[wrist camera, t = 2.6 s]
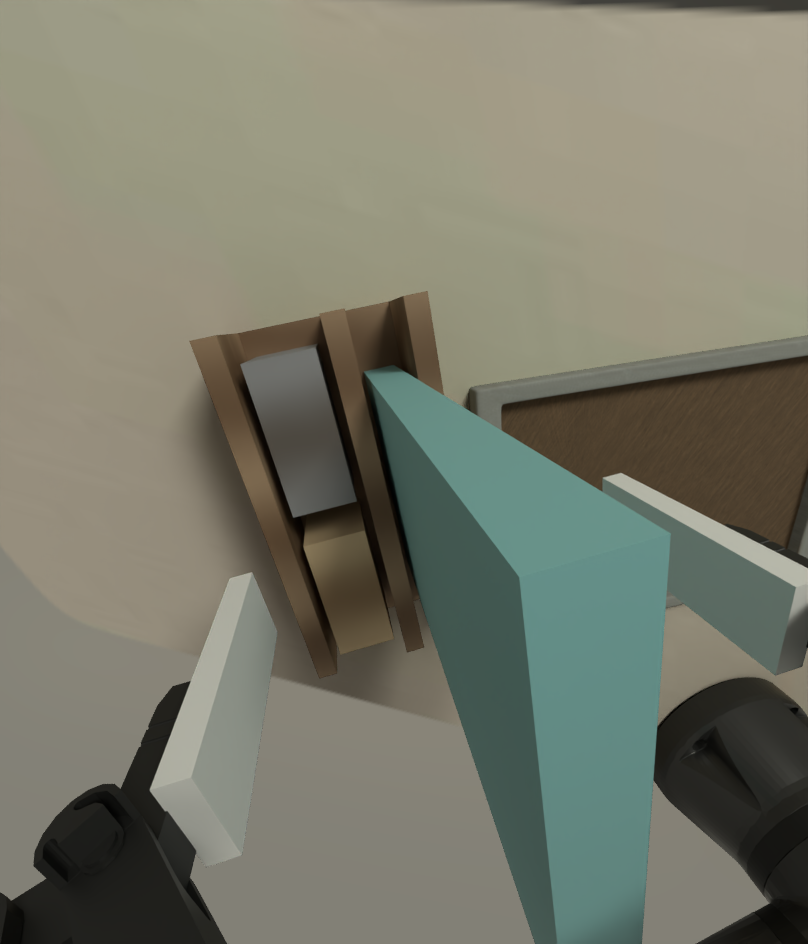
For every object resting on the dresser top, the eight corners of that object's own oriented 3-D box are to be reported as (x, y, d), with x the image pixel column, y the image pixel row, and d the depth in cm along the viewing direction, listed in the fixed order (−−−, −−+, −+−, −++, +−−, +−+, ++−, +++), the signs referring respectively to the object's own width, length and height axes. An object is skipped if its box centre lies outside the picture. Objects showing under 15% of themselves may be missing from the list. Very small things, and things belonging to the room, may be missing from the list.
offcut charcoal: (352, 472, 22) (356, 501, 18) (299, 485, 22) (293, 517, 18) (317, 343, 20) (315, 347, 16) (257, 356, 19) (239, 364, 16)
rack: (455, 578, 27) (481, 630, 23) (321, 616, 26) (319, 678, 22) (404, 298, 20) (427, 291, 16) (222, 337, 20) (189, 341, 15)
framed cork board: (474, 389, 22) (919, 321, 25) (465, 385, 23) (887, 321, 27) (487, 652, 29) (834, 569, 32) (480, 636, 30) (812, 558, 34)
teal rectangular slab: (432, 555, 25) (636, 1011, 8) (407, 562, 25) (567, 1039, 8) (393, 364, 21) (670, 533, 4) (363, 371, 20) (519, 576, 4)
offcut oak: (384, 593, 25) (394, 638, 22) (338, 606, 25) (340, 654, 21) (358, 497, 23) (364, 530, 19) (307, 510, 22) (303, 546, 19)
